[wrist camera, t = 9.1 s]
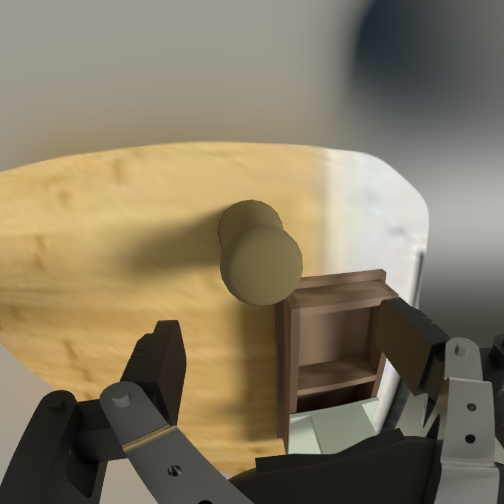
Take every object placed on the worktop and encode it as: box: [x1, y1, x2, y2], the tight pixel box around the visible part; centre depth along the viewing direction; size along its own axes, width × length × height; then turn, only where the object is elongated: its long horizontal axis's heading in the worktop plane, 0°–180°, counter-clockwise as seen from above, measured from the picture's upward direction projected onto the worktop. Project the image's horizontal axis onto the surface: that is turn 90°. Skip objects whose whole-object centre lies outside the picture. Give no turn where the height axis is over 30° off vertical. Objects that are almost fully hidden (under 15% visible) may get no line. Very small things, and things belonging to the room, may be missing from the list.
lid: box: [288, 397, 379, 454], centre depth 26 cm, size 11×10×8 cm
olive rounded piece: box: [218, 200, 303, 306], centre depth 22 cm, size 6×6×11 cm
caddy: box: [275, 269, 399, 454], centre depth 30 cm, size 12×24×5 cm, turn 3°
